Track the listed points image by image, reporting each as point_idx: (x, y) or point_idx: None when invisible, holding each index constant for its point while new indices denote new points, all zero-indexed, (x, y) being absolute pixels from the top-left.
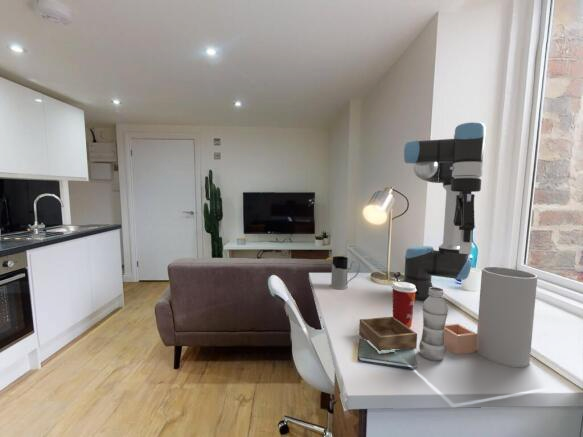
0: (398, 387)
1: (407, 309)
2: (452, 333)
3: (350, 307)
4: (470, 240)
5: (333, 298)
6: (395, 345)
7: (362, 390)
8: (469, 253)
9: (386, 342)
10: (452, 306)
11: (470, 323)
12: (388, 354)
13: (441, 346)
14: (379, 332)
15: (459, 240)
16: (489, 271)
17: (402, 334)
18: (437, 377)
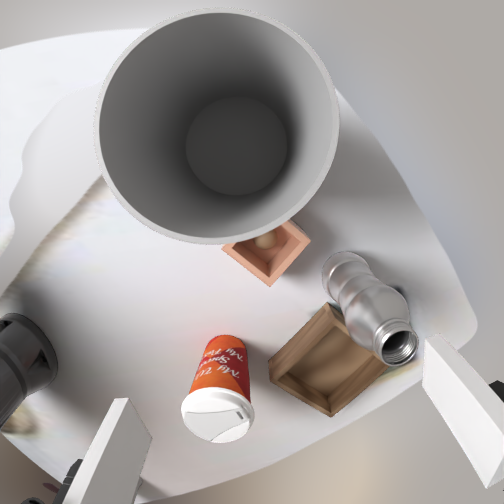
0: (451, 291)
1: (242, 369)
2: (299, 253)
3: (210, 444)
4: (484, 390)
5: (191, 472)
6: None
7: (471, 324)
8: (440, 341)
9: None
10: (22, 271)
11: (89, 222)
12: None
13: (363, 263)
14: (305, 375)
15: (125, 443)
16: (143, 206)
17: None
18: (402, 249)
